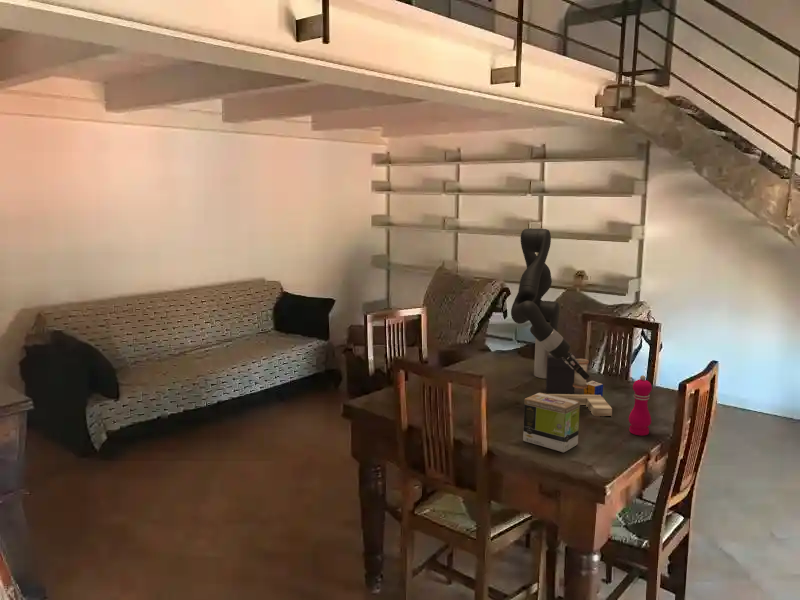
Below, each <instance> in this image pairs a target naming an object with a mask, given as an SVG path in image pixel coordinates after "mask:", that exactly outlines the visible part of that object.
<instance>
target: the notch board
mask: <svg viewBox="0 0 800 600" xmlns="http://www.w3.org/2000/svg"><path fill="white" fill-rule="evenodd" d="M548 394H549V395H553V396H558V397H562V398H567V399H571V400H576V401H580V405H586V406H585V407H586V408H587V407H588V408H587V409H588V410H589V412H590V411H591V412H590V413H591V414H592V416H593V415H594V416H593V417H600V416H611V418H612V417H613V408H612V407H611V405H610V404H609V403H608V402H607V401H606V400H605V398H604V396H601V395H584V394H576V393H574V394H566V393H548Z"/></svg>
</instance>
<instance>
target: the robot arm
mask: <svg viewBox="0 0 800 600" xmlns="http://www.w3.org/2000/svg"><path fill="white" fill-rule="evenodd" d="M551 241H552V236H551V231H550V230H549V229H547V228H525V229H523V230H522V231H521V233H520V248H521V250H522V253H523V254H522V255H523V257H524V261H525V265H526V269H525V270H524V272H523V273H522V275H521V276H520V281H519V285H518V292H517V294H516V296H515V298H514V301H513V303H512V306H511V308H510V310H511V311H510V316H511V320H513V322H514V323H516V324H519V325H521V324H525V323H527V322H528V321H529V322H530V324H531V327H530V329H529V331H530V334H531V335H532V336H533V337H534V338H535V341H534V343H535V345H534V364H533V365H534V366H533V368H534V369H533V376H534V377H536V378H540V379H546V374H547V356H548V355H552V356H553V357H554V358H555V359H560V358H561V357H563V361H564V362H565V363H566V364H568V365H569V366H570V367H571V368H572V369H574V370H575V371H576V372H577V373H579V374H580V375H581V376H582V377H583V378H584V379H585V380H586V379H587V380H588V379H589V378H590V375H589V373H588V372H587V373H586V372H585V371H584V370H583V368H582V367H581V366H580V365H579V362H578V361H577V360H576V359H577V358H576V359H575V358H574V356H575V355H574V354H572V352H569V351H571V347H572V346H571V344H570V343H569V342H568V341H567V340H566V339H565V338H564V337H563V336H562V335H561V334H560V332H558V331H559V321H560V320H559V319H560V311H561V310H560V307H561V306H560V303H559V302H558V301H555V300H554V301H553V300H552V301H551V300H542V298H543V297H544V296H545V294H547V293H548V291H549V290H550V288H551V287H552V283H553V282H552V274H551V270H550V269H551V268H550V267H549V266H548V265H547V264H546V263H547V262H546V260H547V259H548V258H547V257H548V255H549V252H550V248H551V245H552V242H551ZM537 253H538V254H537ZM578 367H580V368H579V369H578V370H576V368H578ZM587 380H586V381H587Z"/></svg>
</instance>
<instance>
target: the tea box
mask: <svg viewBox="0 0 800 600" xmlns="http://www.w3.org/2000/svg"><path fill="white" fill-rule="evenodd" d="M549 394H550V393H545V392H544V393H543V392H537V393H535V394H533V395H530V396H528V397H526V398H524V403H523V404H524V405H523V428H522V430H523V432H522V433H523V436H522V438H523V439H522V441H523V442H526V443H530V444H534V445H536V446H540V447H544V448H547V449H551V450H553V451H558V452H561V453H565V452H567V451H569V450H571V449H573V448H574V447H575V446H577V445H578V443H579V432H580V431H579V429H580V426H579V425H580V407H581V406H580V401H576V400H571V399H567V398H562V397H558V396H553V395H549Z"/></svg>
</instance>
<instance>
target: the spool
mask: <svg viewBox="0 0 800 600" xmlns="http://www.w3.org/2000/svg"><path fill="white" fill-rule="evenodd" d="M576 360H577V361H578V362H579V365H580V366H581V367H582V368H583V370H584V371H585V372H586V373H587V374H588V365H589V363H590V360H588V359H585V358H576ZM579 368H580V367H578V368H576V370H578V369H579ZM587 380H588V379H586V380H585V379H584V378H583V377H582V376H581V375H580V374H579V373H577V372H576V371H575V374H574V383H573V387H575V389H581V390H584V389H585V388H587V384H586V383H587Z"/></svg>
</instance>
